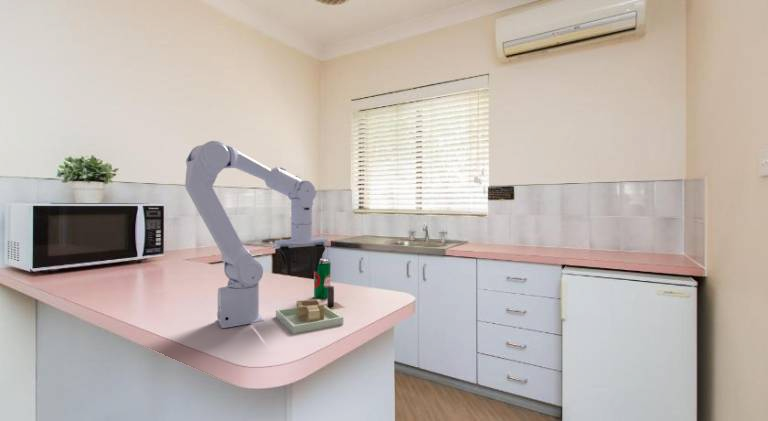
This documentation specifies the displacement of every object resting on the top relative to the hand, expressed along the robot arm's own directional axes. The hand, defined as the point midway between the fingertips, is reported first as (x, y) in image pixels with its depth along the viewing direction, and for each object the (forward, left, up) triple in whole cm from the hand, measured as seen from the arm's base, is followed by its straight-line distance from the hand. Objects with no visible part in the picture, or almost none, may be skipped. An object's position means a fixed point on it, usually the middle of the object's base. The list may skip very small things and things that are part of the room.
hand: (301, 272), depth 100 cm
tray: (-2, -12, -10) cm, 16 cm away
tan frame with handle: (-2, -12, -9) cm, 16 cm away
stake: (+7, -4, -10) cm, 13 cm away
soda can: (+9, +7, -10) cm, 15 cm away
